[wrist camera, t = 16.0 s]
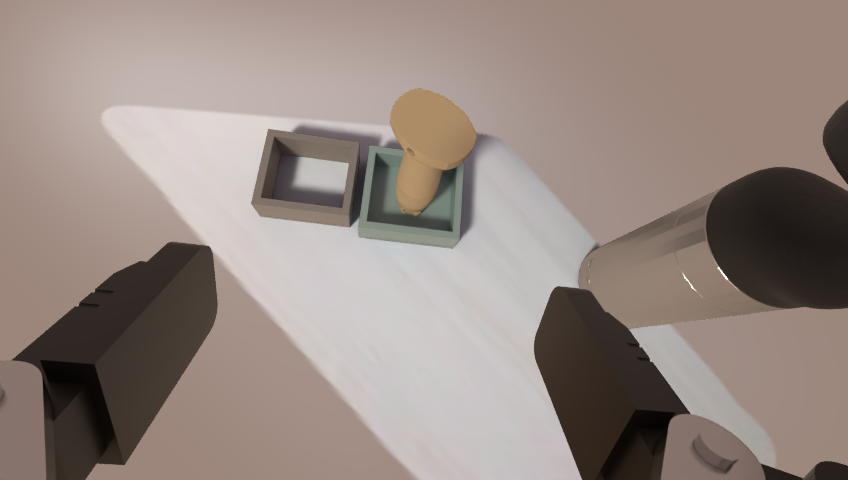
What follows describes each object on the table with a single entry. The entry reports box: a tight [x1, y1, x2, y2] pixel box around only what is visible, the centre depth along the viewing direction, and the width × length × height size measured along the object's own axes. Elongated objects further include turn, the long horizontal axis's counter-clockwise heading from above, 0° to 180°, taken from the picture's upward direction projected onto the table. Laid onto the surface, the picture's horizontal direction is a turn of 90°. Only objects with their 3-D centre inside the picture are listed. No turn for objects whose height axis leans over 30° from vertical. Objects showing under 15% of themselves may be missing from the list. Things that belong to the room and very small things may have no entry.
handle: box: [390, 88, 477, 216], centre depth 36 cm, size 5×6×15 cm
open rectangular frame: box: [251, 129, 360, 227], centre depth 41 cm, size 9×8×4 cm
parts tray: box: [358, 145, 464, 249], centre depth 42 cm, size 10×9×3 cm
